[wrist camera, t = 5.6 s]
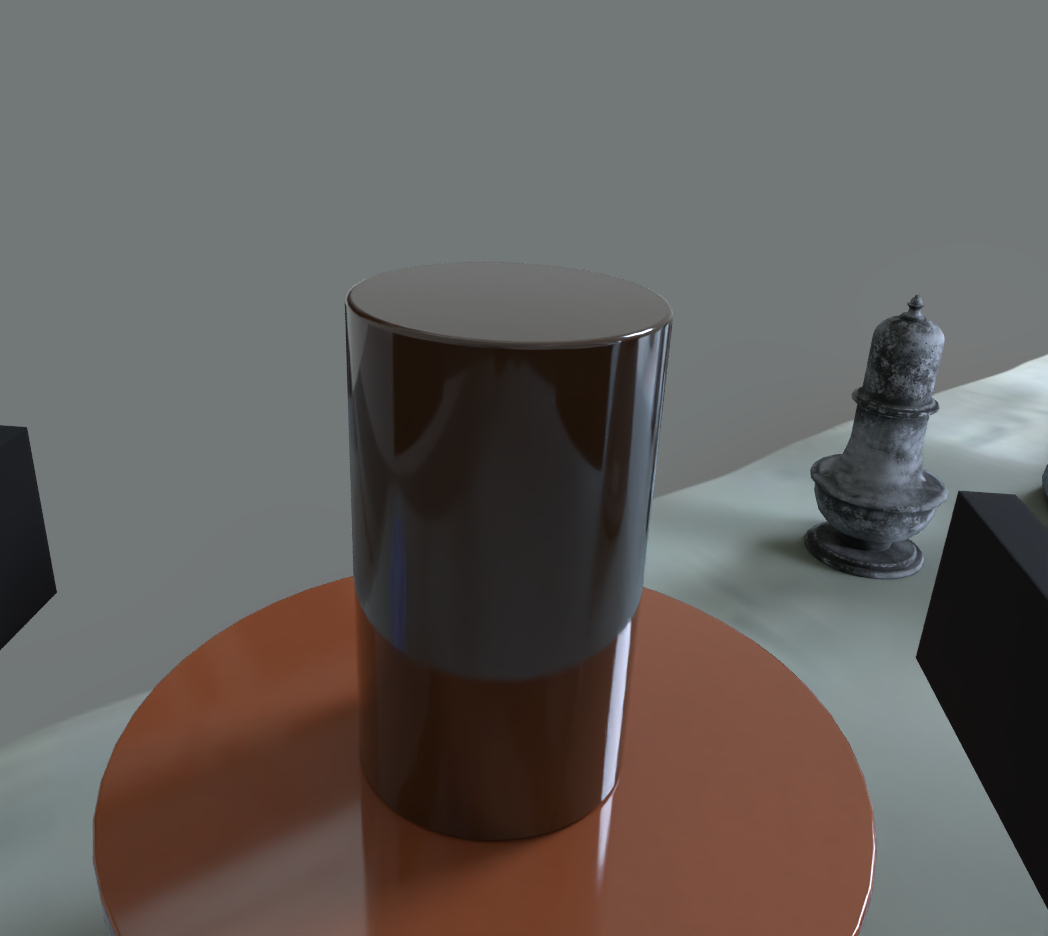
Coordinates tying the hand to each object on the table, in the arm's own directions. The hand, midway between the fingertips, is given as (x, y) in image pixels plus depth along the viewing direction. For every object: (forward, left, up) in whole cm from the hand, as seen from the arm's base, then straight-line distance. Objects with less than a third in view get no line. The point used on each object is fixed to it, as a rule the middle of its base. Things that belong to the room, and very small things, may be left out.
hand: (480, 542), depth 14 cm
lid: (0, -3, -7) cm, 7 cm away
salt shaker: (-15, -28, -14) cm, 35 cm away
